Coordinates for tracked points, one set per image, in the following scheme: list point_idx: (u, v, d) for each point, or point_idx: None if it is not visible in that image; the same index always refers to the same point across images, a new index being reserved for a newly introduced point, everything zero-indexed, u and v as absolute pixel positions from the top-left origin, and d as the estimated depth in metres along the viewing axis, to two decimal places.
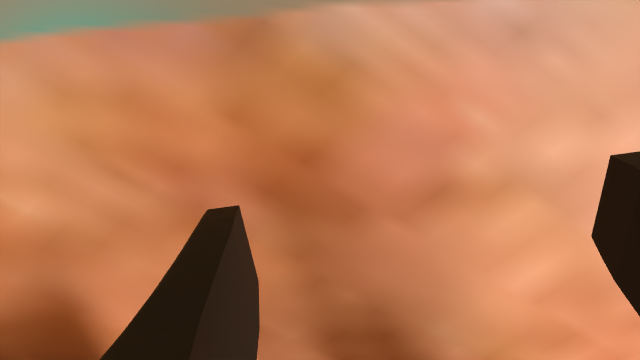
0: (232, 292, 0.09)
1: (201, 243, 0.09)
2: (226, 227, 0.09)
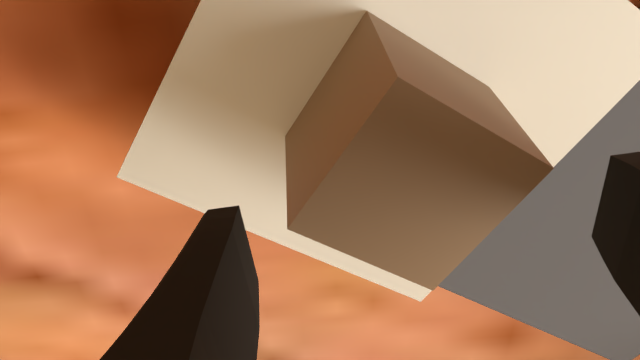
0: (232, 292, 0.09)
1: (201, 243, 0.09)
2: (226, 227, 0.09)
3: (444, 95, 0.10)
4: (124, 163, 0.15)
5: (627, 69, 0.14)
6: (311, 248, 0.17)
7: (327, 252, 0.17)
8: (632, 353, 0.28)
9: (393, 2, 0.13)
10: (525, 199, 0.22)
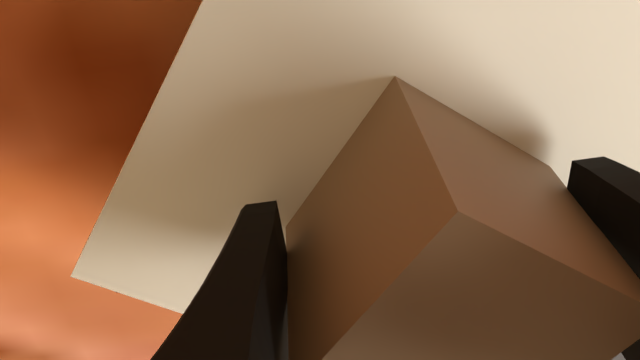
0: (275, 286, 0.09)
1: (244, 237, 0.09)
2: (267, 221, 0.09)
3: (517, 219, 0.07)
4: (79, 260, 0.11)
5: None
6: None
7: None
8: None
9: (430, 65, 0.09)
10: None
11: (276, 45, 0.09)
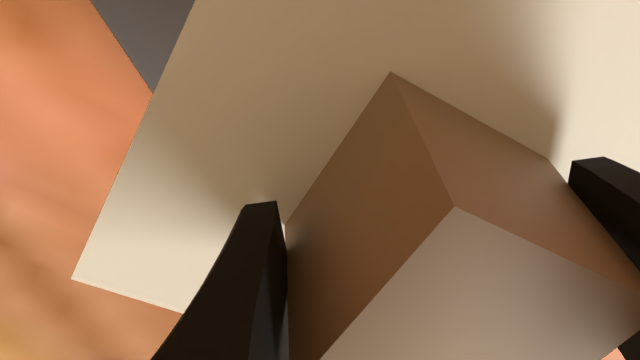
0: (275, 286, 0.09)
1: (245, 237, 0.09)
2: (268, 222, 0.09)
3: (514, 213, 0.07)
4: (79, 263, 0.11)
5: None
6: None
7: None
8: None
9: (426, 60, 0.09)
10: None
11: (270, 43, 0.09)
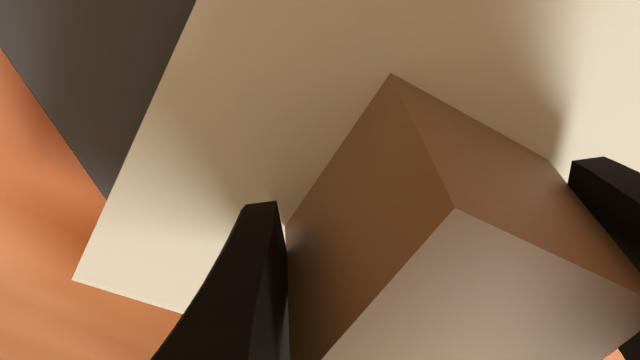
0: (276, 286, 0.09)
1: (245, 237, 0.09)
2: (268, 221, 0.09)
3: (515, 215, 0.07)
4: (80, 264, 0.11)
5: None
6: None
7: None
8: None
9: (426, 61, 0.09)
10: None
11: (271, 44, 0.09)
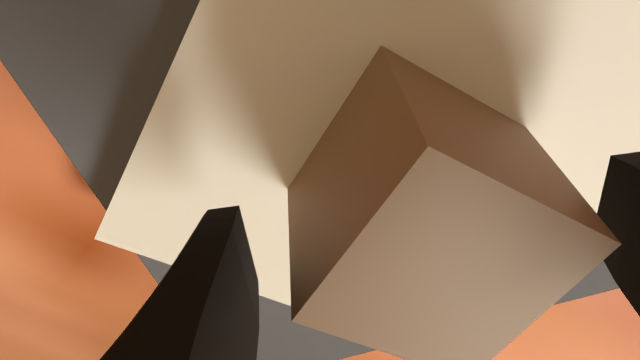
0: (232, 292, 0.09)
1: (201, 243, 0.09)
2: (226, 227, 0.09)
3: (484, 159, 0.08)
4: (102, 223, 0.13)
5: None
6: None
7: None
8: None
9: (413, 35, 0.11)
10: None
11: (275, 19, 0.10)
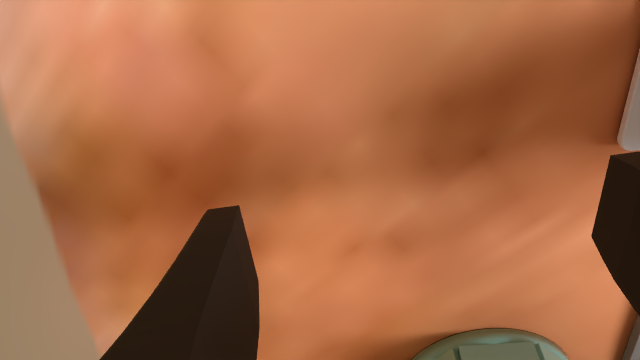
0: (232, 292, 0.09)
1: (201, 243, 0.09)
2: (226, 227, 0.09)
3: None
4: None
5: None
6: None
7: None
8: None
9: None
10: None
11: None
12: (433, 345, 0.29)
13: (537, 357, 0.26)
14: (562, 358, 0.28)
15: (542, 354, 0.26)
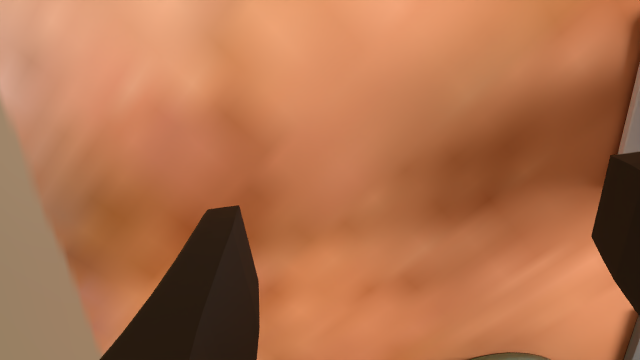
0: (232, 292, 0.09)
1: (201, 243, 0.09)
2: (226, 227, 0.09)
3: None
4: None
5: None
6: None
7: None
8: None
9: None
10: None
11: None
12: None
13: None
14: None
15: None
